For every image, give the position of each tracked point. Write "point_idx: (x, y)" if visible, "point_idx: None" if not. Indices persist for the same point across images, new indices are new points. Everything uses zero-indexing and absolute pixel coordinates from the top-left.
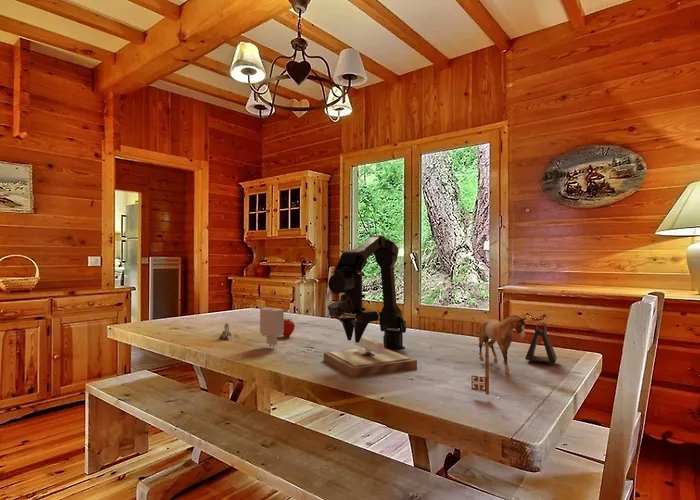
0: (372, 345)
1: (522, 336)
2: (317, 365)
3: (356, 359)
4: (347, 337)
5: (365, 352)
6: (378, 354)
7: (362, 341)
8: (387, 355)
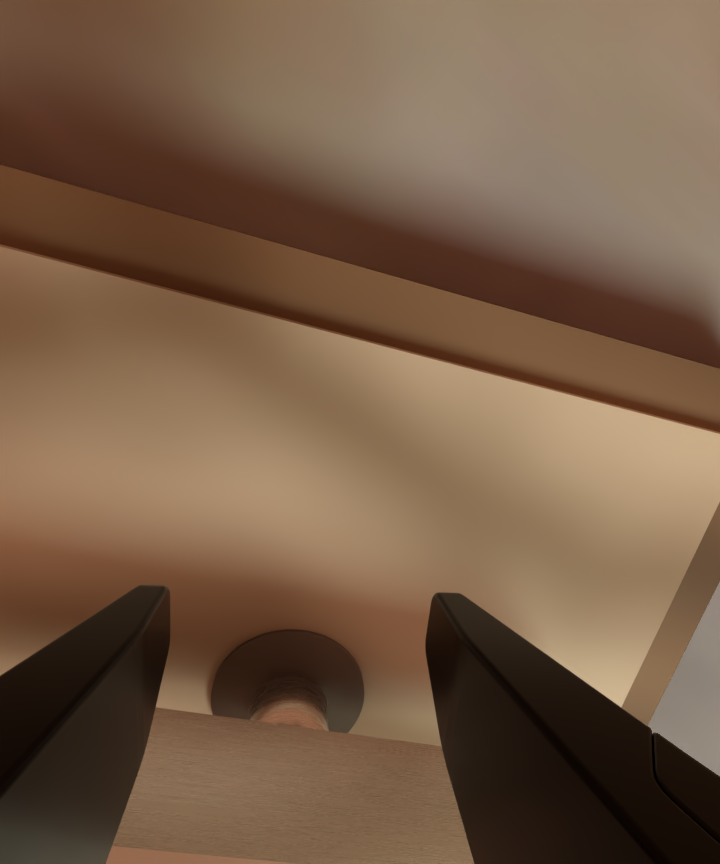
0: None
1: None
2: (645, 178)
3: (204, 458)
4: (469, 617)
5: (304, 688)
6: None
7: (404, 818)
8: None
